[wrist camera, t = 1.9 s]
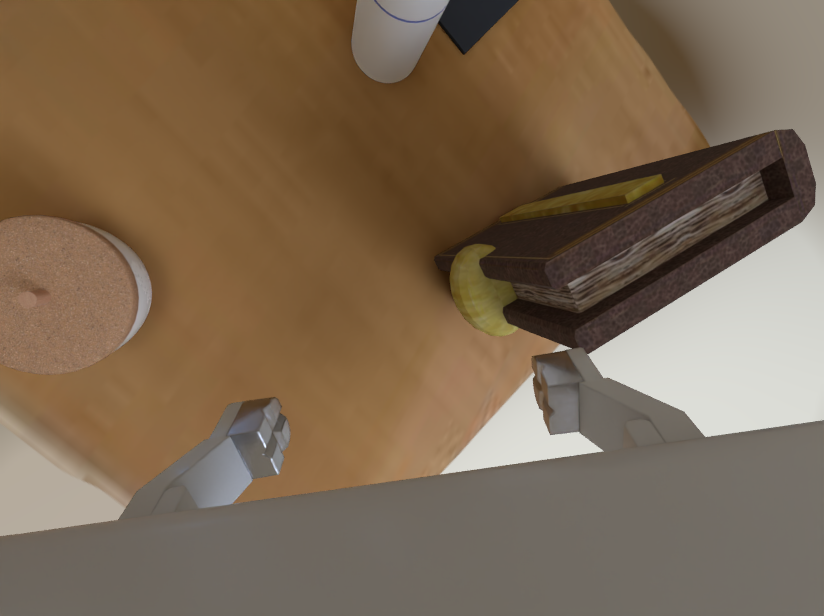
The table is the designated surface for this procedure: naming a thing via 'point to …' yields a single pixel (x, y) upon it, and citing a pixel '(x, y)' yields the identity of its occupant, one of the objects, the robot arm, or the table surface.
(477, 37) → the felt mat
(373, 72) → the cylindrical container
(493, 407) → the table surface
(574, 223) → the book
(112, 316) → the lidded bowl
